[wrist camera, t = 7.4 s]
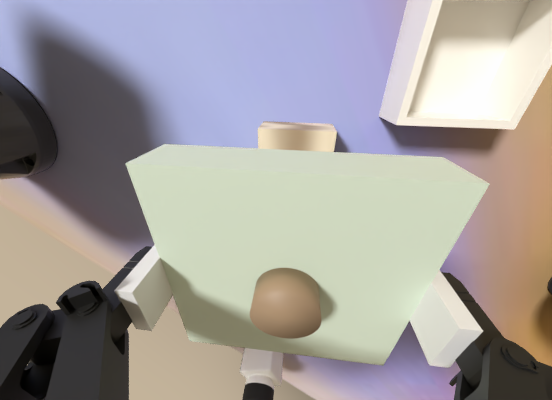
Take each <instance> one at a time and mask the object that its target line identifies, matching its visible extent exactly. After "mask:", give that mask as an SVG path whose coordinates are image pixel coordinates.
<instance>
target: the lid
mask: <svg viewBox="0 0 552 400" xmlns="http://www.w3.org/2000/svg"><path fill="white" fill-rule="evenodd" d="M125 164H126V167H127V169H128V172H129V175H130V178H131V180H132V183H133V186H134V189H135V191H136V194H137V197H138V200H139V202H140V205H141V208H142V211H143V213H144V216H145V219H146V222H147V224H148V227H149V230H150V233H151V236H152V238H153V241H154V244H155V247H156V249H157V252H158V255H159V257H160V259H161V262H162V265H163V268H164V270H165V273H166V276H167V279H168V281H169V284H170V287H171V290H172V293H173V296H174V299H175V302H176V305H177V307H178V310H179V313H180V316H181V318H182V321H183V324H184V326H185V329H186V332H187V335H188V338H189V340H190V341H194V342H202V343H210V344H219V345H226V346H234V347H242V348H249V349H257V350H265V351H273V352H281V353H289V354H297V355H305V356H313V357H320V358H328V359H336V360H344V361H352V362H360V363H368V364H376V365H384V363H385V362H386V360H387V358H388V357H389V355H390V353H391V351H392V350H393V348H394V346H395V345H396V343H397V341H398V339H399V338H400V336H401V334H402V333H403V331H404V329H405V328H406V326H407V324H408V322H409V321H410V318H411V317H412V315H413V313H414V311H415V310H416V308H417V306H418V305H419V303H420V301H421V299H422V298H423V296H424V294H425V293H426V291H427V289H428V287H429V286H430V284H431V283H432V281H433V280H434V278H435V276H436V275H437V273H438V271H439V270H440V268H441V266H442V264H443V263H444V261H445V259H446V258H447V256H448V254H449V252H450V251H451V249H452V247H453V246H454V244H455V242H456V241H457V239H458V237H459V235H460V234H461V232H462V230H463V229H464V227H465V225H466V223H467V222H468V220H469V218H470V217H471V215H472V213H473V212H474V210H475V208H476V206H477V205H478V203H479V201H480V200H481V198H482V196H483V194H484V193H485V191H486V189H487V188H488V186H489V183H487V182H486V181H484V180H482V179H480V178H479V177H477V176H475V175H473V174H472V173H470V172H468V171H466V170H464V169H463V168H461V167H459V166H457V165H456V164H454V163H452V162H450V161H449V160H447V159H445V158H443V157H426V156H405V155H384V154H363V153H342V152H321V151H300V150H279V149H258V148H237V147H216V146H195V145H174V144H164V145H162V146H160V147H158V148H156V149H154V150H151V151H149V152H147V153H145V154H143V155H141V156H139V157H137V158H135V159H133V160H131V161H129V162H127V163H125Z"/></svg>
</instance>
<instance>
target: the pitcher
mask: <svg viewBox="0 0 552 400" xmlns="http://www.w3.org/2000/svg"><path fill="white" fill-rule="evenodd" d="M548 289H549V291H550V293H551V294H552V278H551V279H550V281H549V283H548Z"/></svg>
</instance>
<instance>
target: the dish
mask: <svg viewBox="0 0 552 400" xmlns="http://www.w3.org/2000/svg"><path fill="white" fill-rule="evenodd" d="M551 65H552V0H407V4H406V8H405V12H404V16H403V20H402V24H401V28H400V32H399V36H398V40H397V44H396V49H395V53H394V57H393V61H392V65H391V69H390V73H389V77H388V81H387V85H386V89H385V93H384V97H383V101H382V105H381V109H380V113H379V117H381V118H383V119H385V120H387V121H389V122H391V123H393V124H395V125H406V126H434V127H462V128H490V129H515V128H516V126H517V124H518V122H519V121H520V119H521V117H522V115H523V114H524V112H525V110H526V108H527V107H528V105H529V103H530V101H531V100H532V98H533V96H534V94H535V93H536V91H537V89H538V87H539V86H540V84H541V82H542V80H543V79H544V77H545V75H546V73H547V72H548V70H549V68H550V66H551Z"/></svg>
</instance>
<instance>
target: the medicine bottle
mask: <svg viewBox="0 0 552 400" xmlns="http://www.w3.org/2000/svg"><path fill="white" fill-rule="evenodd" d="M282 365H283V353H281V352H273V351H265V350H257V349H249V348H244V353H243V358H242V363H241V368H240V373H241V374H242V375H243V376H244V377H245V378H246V383H245V389H244V394H243V400H273V395H274V386H280V385H281V381H282Z"/></svg>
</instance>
